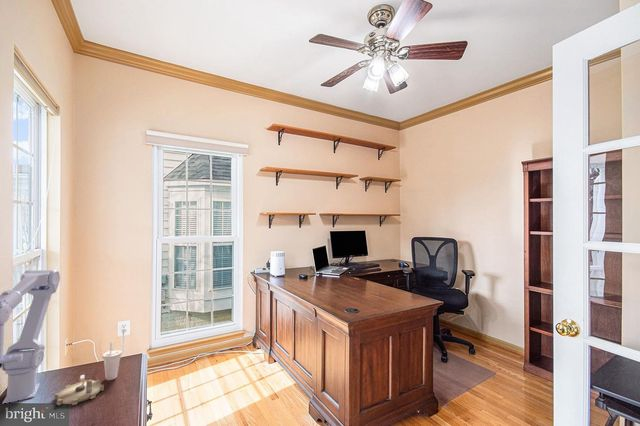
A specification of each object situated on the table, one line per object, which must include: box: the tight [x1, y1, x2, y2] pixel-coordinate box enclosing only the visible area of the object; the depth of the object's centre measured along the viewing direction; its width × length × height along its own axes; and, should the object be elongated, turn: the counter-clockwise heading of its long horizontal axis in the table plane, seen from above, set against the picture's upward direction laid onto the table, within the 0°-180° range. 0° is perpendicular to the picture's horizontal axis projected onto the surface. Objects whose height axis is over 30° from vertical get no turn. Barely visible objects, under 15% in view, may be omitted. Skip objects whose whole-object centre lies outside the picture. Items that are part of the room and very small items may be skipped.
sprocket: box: [54, 379, 105, 406], centre depth 109 cm, size 14×14×6 cm
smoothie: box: [102, 342, 123, 381], centre depth 120 cm, size 6×6×14 cm
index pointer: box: [79, 374, 86, 382], centre depth 116 cm, size 3×1×2 cm, turn 34°
